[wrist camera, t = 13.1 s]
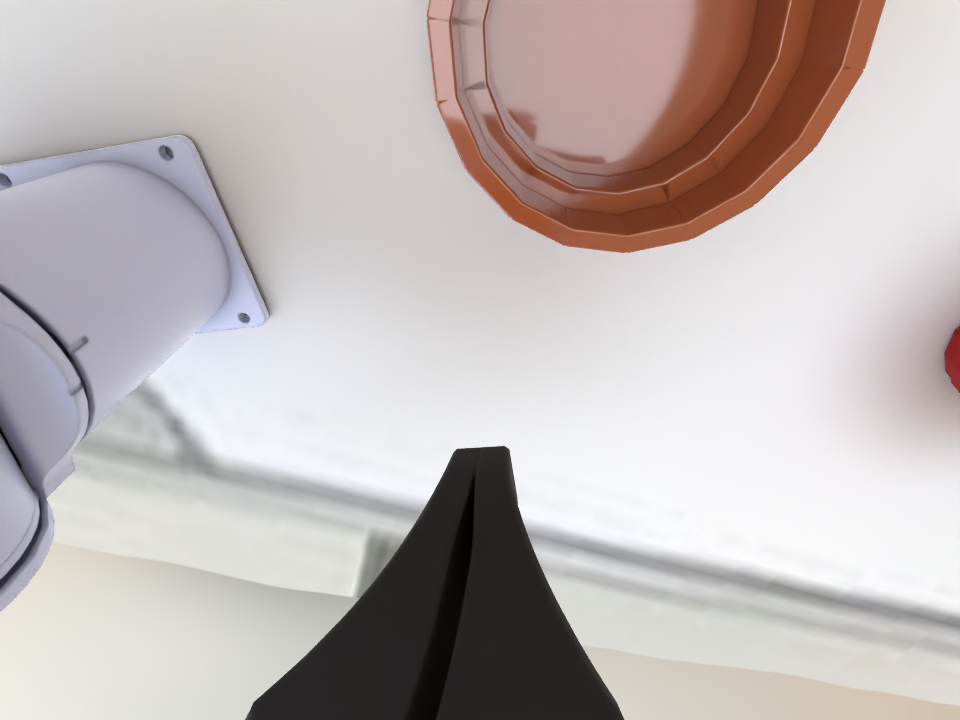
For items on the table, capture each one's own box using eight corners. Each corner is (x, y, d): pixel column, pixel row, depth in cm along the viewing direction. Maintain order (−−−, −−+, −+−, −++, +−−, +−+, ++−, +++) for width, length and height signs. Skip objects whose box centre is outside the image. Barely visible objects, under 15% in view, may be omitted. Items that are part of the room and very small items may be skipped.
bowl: (652, 254, 20) (685, 307, 16) (400, 122, 18) (368, 148, 14) (882, -63, 14) (1016, -96, 10) (552, -311, 12) (570, -467, 8)
